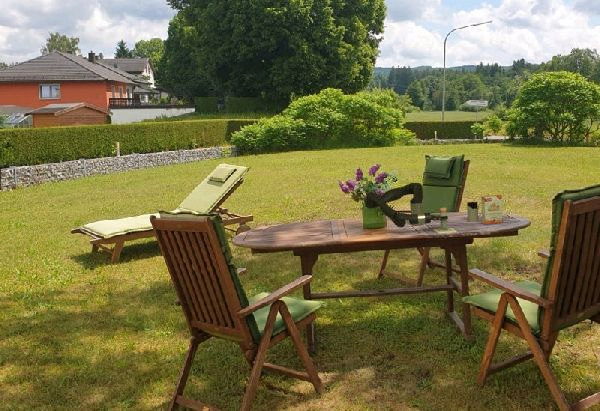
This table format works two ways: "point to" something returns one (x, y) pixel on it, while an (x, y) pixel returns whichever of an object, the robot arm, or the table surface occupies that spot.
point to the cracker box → (491, 209)
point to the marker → (443, 222)
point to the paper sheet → (444, 230)
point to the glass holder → (472, 212)
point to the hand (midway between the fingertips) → (446, 216)
